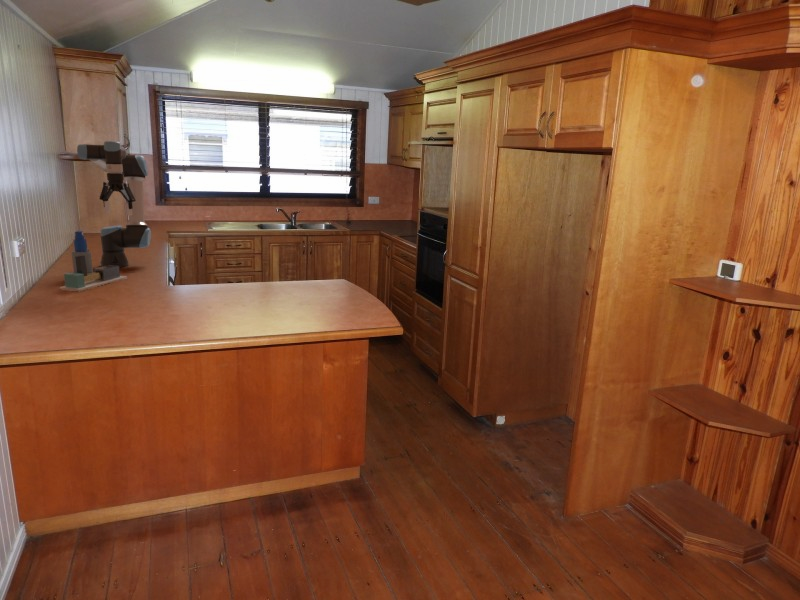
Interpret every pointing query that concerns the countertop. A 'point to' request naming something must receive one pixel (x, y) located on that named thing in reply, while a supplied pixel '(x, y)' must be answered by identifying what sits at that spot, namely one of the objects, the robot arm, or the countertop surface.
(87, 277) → the l-shaped block
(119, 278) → the base board
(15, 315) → the countertop surface
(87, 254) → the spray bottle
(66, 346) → the countertop surface
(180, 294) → the countertop surface
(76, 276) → the green rectangular block
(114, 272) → the sleeve
